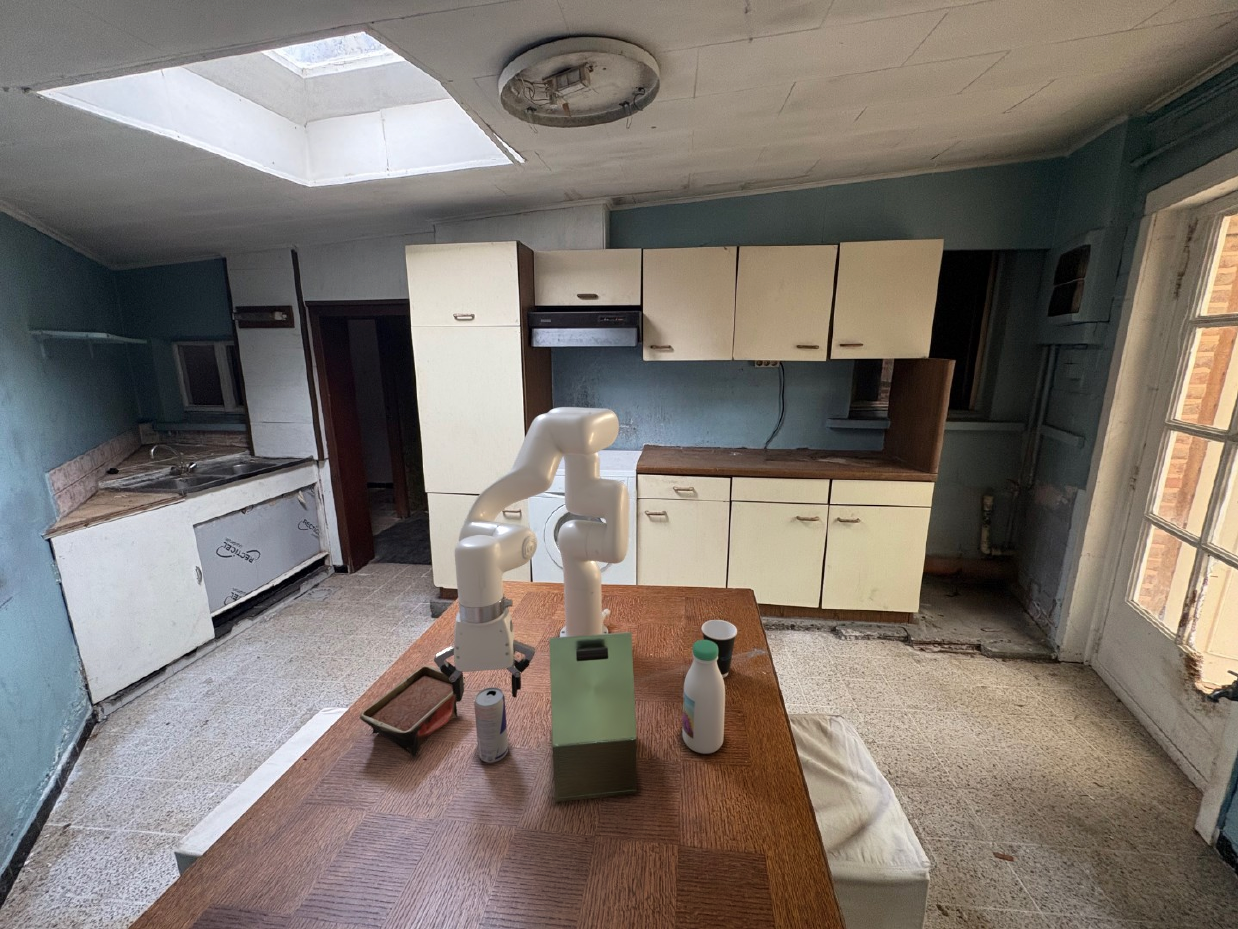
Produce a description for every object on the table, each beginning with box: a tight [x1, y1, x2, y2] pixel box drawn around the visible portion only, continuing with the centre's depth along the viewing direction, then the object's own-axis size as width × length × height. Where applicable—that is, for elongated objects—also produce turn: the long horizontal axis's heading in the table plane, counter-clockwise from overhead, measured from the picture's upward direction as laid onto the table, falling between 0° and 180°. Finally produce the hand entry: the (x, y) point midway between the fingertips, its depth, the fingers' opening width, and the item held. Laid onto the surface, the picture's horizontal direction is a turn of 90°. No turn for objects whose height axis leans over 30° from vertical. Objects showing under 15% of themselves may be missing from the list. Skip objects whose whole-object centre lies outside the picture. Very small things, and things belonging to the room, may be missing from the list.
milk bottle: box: [682, 639, 726, 755], centre depth 93 cm, size 8×8×20 cm
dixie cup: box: [701, 619, 738, 679], centre depth 114 cm, size 8×8×11 cm
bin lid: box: [548, 631, 638, 746], centre depth 80 cm, size 16×14×5 cm
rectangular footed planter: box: [359, 665, 466, 758], centre depth 99 cm, size 14×18×10 cm
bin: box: [552, 737, 638, 803], centre depth 90 cm, size 16×14×11 cm
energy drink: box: [473, 686, 509, 764], centre depth 92 cm, size 5×5×12 cm
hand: (488, 694), depth 90 cm, fingers open, 9 cm apart
